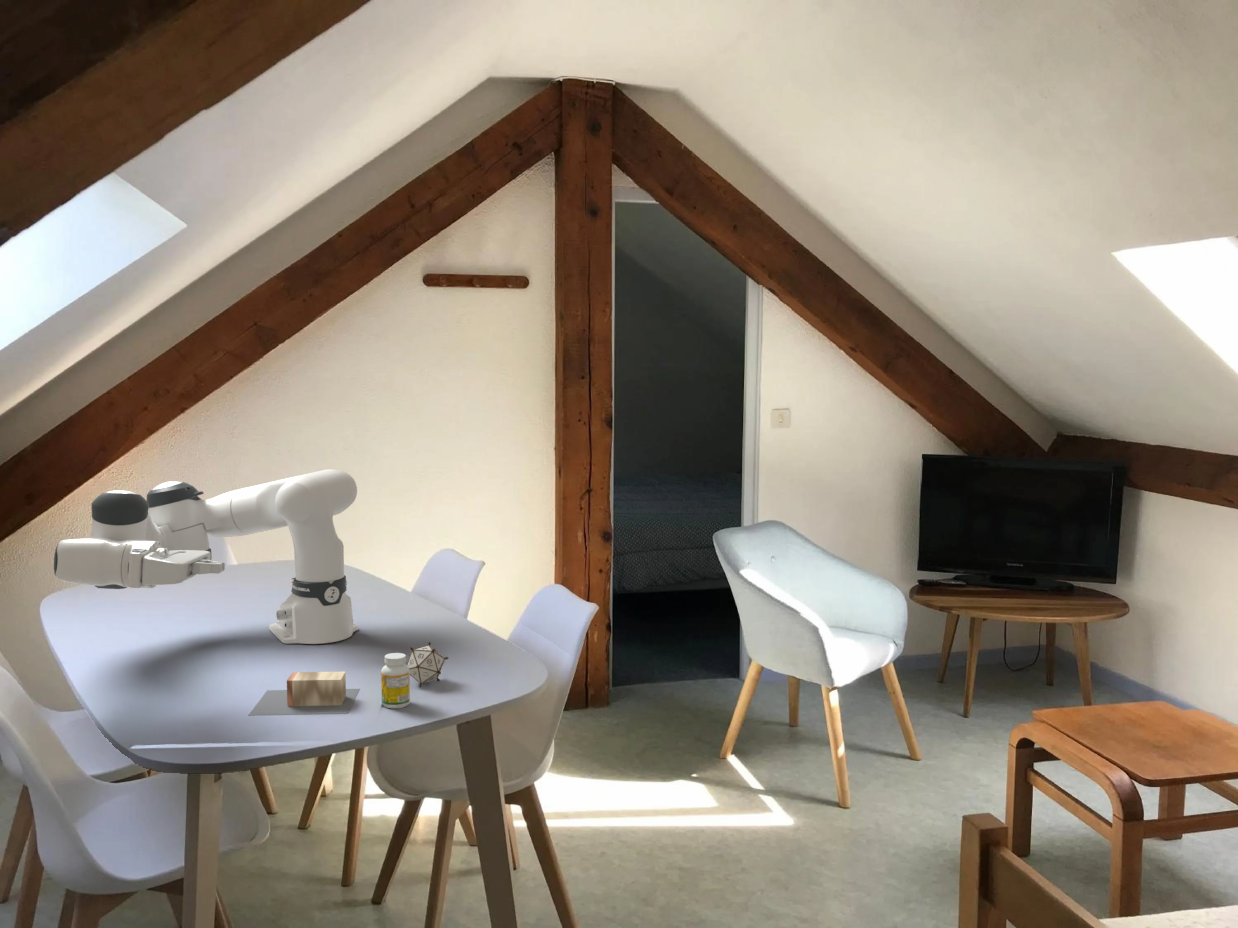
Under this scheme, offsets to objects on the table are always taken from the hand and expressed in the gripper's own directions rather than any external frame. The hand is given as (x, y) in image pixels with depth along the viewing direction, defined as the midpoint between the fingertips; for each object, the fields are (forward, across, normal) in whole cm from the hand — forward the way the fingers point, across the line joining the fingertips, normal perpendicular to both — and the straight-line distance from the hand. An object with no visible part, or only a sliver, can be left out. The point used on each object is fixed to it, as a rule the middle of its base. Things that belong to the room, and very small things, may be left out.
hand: (222, 567), depth 197 cm
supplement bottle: (+34, 0, -25) cm, 42 cm away
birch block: (+13, -1, -23) cm, 26 cm away
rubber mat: (+16, -1, -26) cm, 31 cm away
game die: (+38, -12, -24) cm, 46 cm away
